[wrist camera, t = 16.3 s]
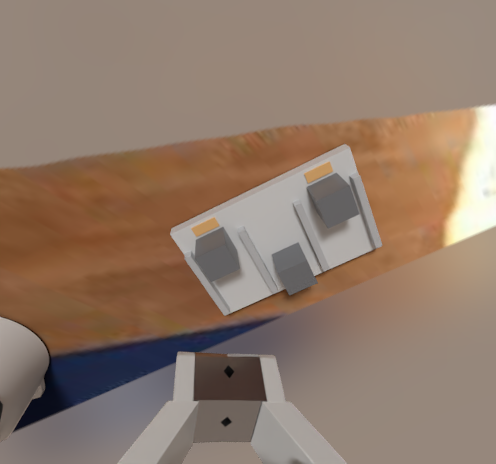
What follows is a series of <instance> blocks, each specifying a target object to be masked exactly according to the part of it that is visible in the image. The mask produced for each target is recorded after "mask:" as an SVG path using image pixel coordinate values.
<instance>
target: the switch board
mask: <svg viewBox="0 0 496 464" xmlns="http://www.w3.org/2000/svg"><path fill="white" fill-rule="evenodd" d="M334 173H337V174H339V175H340V176H341V177H342V178H343V179H344V180H345V181H346V182H347V183H348V184H349V185H350V187H351V190H352V193H353V196H354V199H355V202H356V205H357V208H358V211H359V215H357V216H355V217H352V218H350V219H348V220H346V221H344V222H342V223H339V224H337V225H335V226H333V227H331V228H329V229H328V228H327V227H326V225H325V224H324V222H323V221H322V219H321V218H320V216H319V215H318V213H317V211H316V209H315V206H314V204H313V202H312V199H311V197H310V194H309V192H308V189H307V186H309V185H312V184H314V183H316V182H318V181H320V180H322V179H324V178H326V177H328V176H330V175H332V174H334ZM221 227H224V229H225V230H226V232H227V234H228V235H229V237H230V239H231V241H232V242H233V244H234V246H235V247H236V249H237V252H238V259H239V265H240V269H239V270H237V271H235V272H232V273H230V274H228V275H226V276H224V277H222V278H219V279H217V280H215V281H213V282H210V280H209V279H208V277H207V276H206V274H205V273H204V271H203V270H202V268H201V267H200V265H199V264H198V262H197V261H196V260H195V244H196V239H198V238H200V237H203V236H205V235H207V234H209V233H211V232H213V231H215V230H217V229H219V228H221ZM170 235H171V236H172V238H173V239H174V241H175V242H176V244H177V245H178V247H179V248H180V249H181V251H182V252H183V254H184V255H185V260H186V261H187V263H188V264H189V266H190V267H191V269H192V270H193V271H194V273H195V274H196V276H197V277H198V279H199V280H200V281H201V283H202V284H203V286H204V287H205V289H206V290H207V291H208V293H209V294H210V296H211V297H212V299H213V300H214V301H215V303H216V304H217V306H218V307H219V309H220V310H221V311H222V313H223V314H224V316H225V315H228V314H230V313H232V312H234V311H237V310H239V309H241V308H243V307H246V306H248V305H250V304H252V303H255V302H257V301H259V300H261V299H264V298H266V297H268V296H270V295H273V294H275V293H277V292H279V291H282V290H284V289H286V288H285V286H284V285H283V283H282V281H281V279H280V277H279V275H278V273H277V270H276V267H275V264H274V261H273V258H272V254H274V253H276V252H278V251H280V250H282V249H285V248H287V247H289V246H291V245H293V244H295V243H298V242H299V244H300V246H301V249H302V251H303V253H304V255H305V257H306V259H307V261H308V263H309V265H310V268H311V270H312V272H313V274H314V276H315V275H318V274H320V273H322V272H324V271H327V270H329V269H331V268H333V267H336V266H338V265H340V264H342V263H345V262H347V261H349V260H351V259H354V258H356V257H358V256H360V255H363V254H365V253H367V252H369V251H372V250H374V249H376V248H378V247H381V246H382V242H381V239H380V236H379V233H378V230H377V227H376V224H375V221H374V218H373V214H372V211H371V208H370V205H369V202H368V199H367V196H366V193H365V189H364V186H363V183H362V180H361V177H360V175H359V174H358V171H357V168H356V165H355V162H354V159H353V156H352V153H351V150H350V147H349V146H347V145H346V144H344V145H342V146H339V147H337V148H335V149H333V150H331V151H329V152H327V153H325V154H323V155H321V156H319V157H317V158H315V159H313V160H311V161H309V162H307V163H305V164H303V165H301V166H299V167H296V168H294V169H292V170H290V171H288V172H286V173H284V174H282V175H280V176H278V177H276V178H274V179H272V180H270V181H268V182H266V183H264V184H262V185H260V186H258V187H255V188H253V189H251V190H249V191H247V192H245V193H243V194H241V195H239V196H237V197H235V198H233V199H231V200H229V201H227V202H225V203H223V204H221V205H219V206H217V207H215V208H212V209H210V210H208V211H206V212H204V213H202V214H200V215H198V216H196V217H194V218H192V219H190V220H188V221H186V222H184V223H182V224H180V225H178V226H176V227H174V228H172V229H171V233H170Z"/></svg>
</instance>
